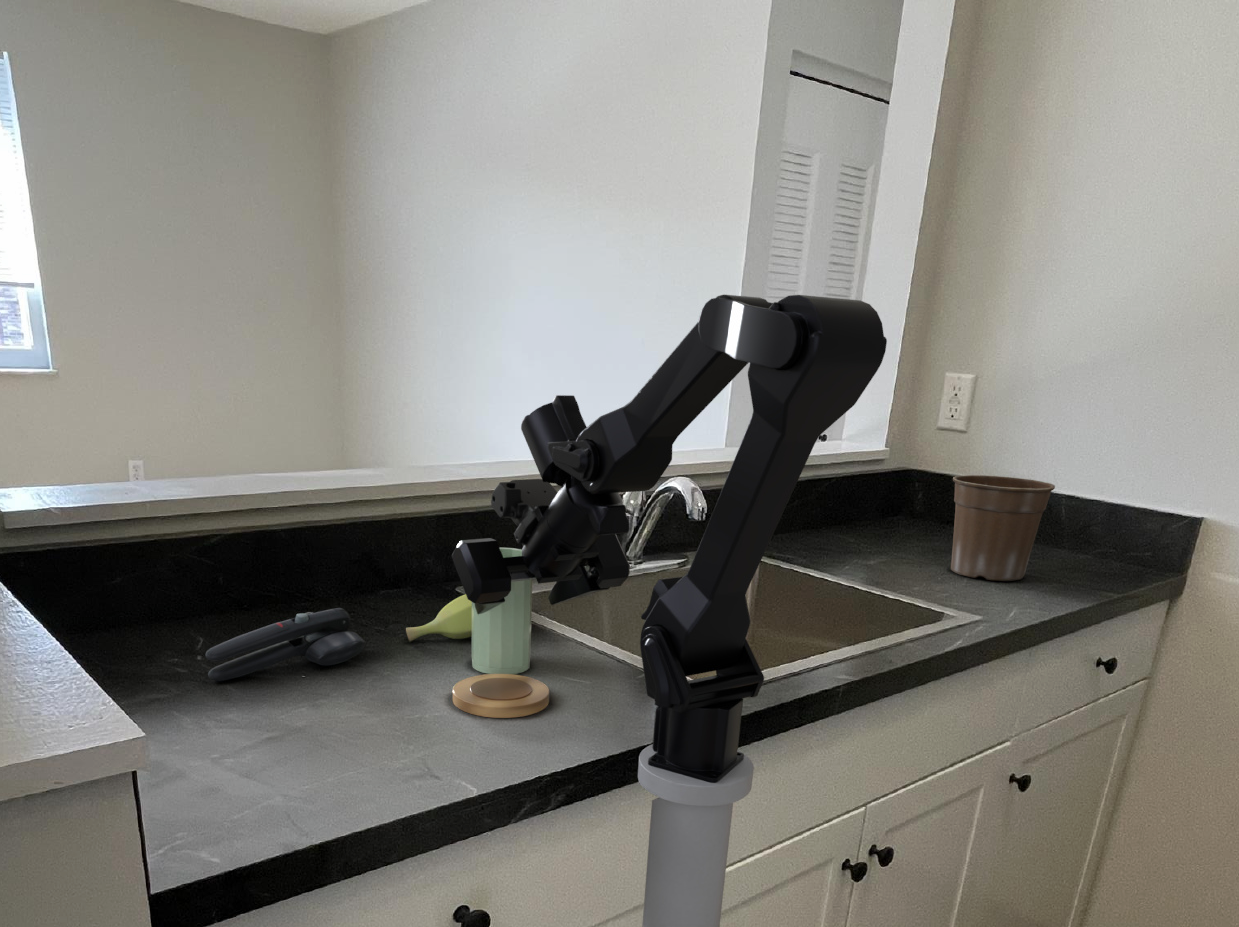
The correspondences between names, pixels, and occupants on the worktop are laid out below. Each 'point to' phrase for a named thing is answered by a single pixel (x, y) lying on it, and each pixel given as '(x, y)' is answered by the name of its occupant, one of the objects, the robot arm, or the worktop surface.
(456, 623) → the banana
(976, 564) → the plant pot
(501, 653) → the tumbler
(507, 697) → the coaster
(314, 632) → the can opener
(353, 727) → the worktop surface
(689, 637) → the robot arm
